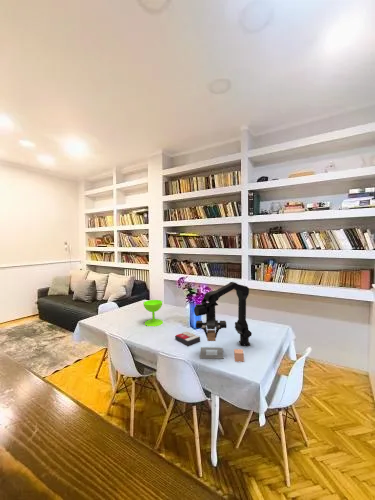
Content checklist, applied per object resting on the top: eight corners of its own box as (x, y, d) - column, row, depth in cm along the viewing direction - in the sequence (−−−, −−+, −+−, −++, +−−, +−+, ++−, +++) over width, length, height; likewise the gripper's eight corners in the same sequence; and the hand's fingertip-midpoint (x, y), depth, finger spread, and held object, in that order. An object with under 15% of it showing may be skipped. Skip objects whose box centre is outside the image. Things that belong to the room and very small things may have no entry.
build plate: (200, 347, 163) (200, 347, 163) (222, 348, 162) (222, 347, 162) (200, 358, 149) (200, 357, 149) (223, 358, 148) (223, 358, 148)
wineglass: (140, 325, 206) (140, 304, 205) (149, 319, 222) (148, 299, 221) (158, 327, 202) (157, 305, 201) (166, 320, 217) (165, 300, 216)
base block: (207, 337, 157) (207, 329, 157) (215, 337, 157) (215, 329, 157) (207, 341, 153) (207, 333, 152) (215, 341, 152) (215, 333, 152)
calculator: (186, 330, 184) (200, 335, 172) (187, 336, 184) (200, 342, 173) (174, 334, 177) (187, 340, 166) (175, 340, 177) (188, 346, 166)
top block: (234, 357, 150) (234, 349, 149) (242, 357, 149) (242, 349, 149) (235, 361, 145) (234, 353, 144) (243, 361, 144) (243, 353, 144)
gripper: (194, 317, 147) (195, 343, 148) (226, 317, 145) (227, 343, 146) (195, 311, 158) (196, 335, 159) (225, 311, 156) (226, 335, 157)
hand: (211, 337), depth 155 cm, fingers closed on base block, 5 cm apart
